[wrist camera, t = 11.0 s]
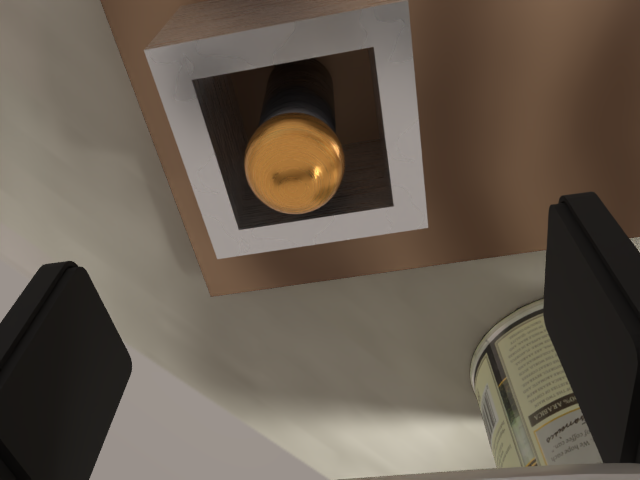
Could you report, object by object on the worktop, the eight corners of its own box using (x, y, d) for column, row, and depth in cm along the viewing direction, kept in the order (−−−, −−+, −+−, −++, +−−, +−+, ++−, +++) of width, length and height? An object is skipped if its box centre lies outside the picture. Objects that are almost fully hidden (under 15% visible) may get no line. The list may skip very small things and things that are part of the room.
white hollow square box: (388, -35, 19) (408, -1, 14) (408, 157, 23) (428, 227, 18) (181, 5, 19) (143, 50, 15) (235, 185, 23) (217, 259, 19)
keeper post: (332, 42, 20) (337, 130, 14) (344, 117, 22) (354, 225, 15) (254, 56, 20) (225, 148, 14) (271, 129, 22) (253, 240, 16)
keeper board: (897, -370, 15) (947, -388, 14) (739, 201, 25) (761, 219, 24) (54, -176, 18) (34, -177, 16) (215, 276, 28) (211, 296, 27)
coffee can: (687, 377, 32) (896, 681, 20) (514, 442, 35) (610, 736, 24) (628, 254, 27) (860, 561, 16) (435, 343, 30) (506, 651, 19)
